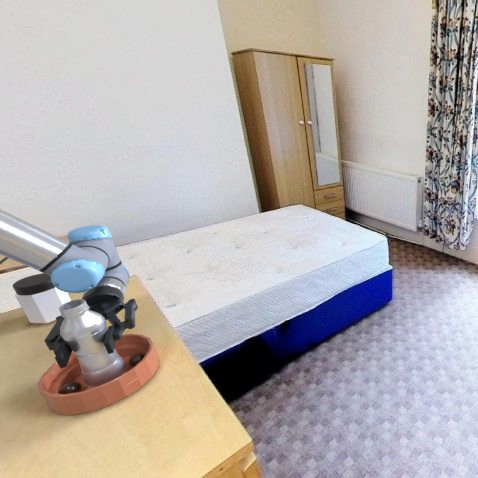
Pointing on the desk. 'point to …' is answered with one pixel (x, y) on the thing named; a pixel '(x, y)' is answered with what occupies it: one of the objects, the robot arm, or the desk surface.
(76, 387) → the bead
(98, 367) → the plastic bottle
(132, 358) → the bead
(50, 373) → the bowl
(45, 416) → the desk surface
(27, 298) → the jar
